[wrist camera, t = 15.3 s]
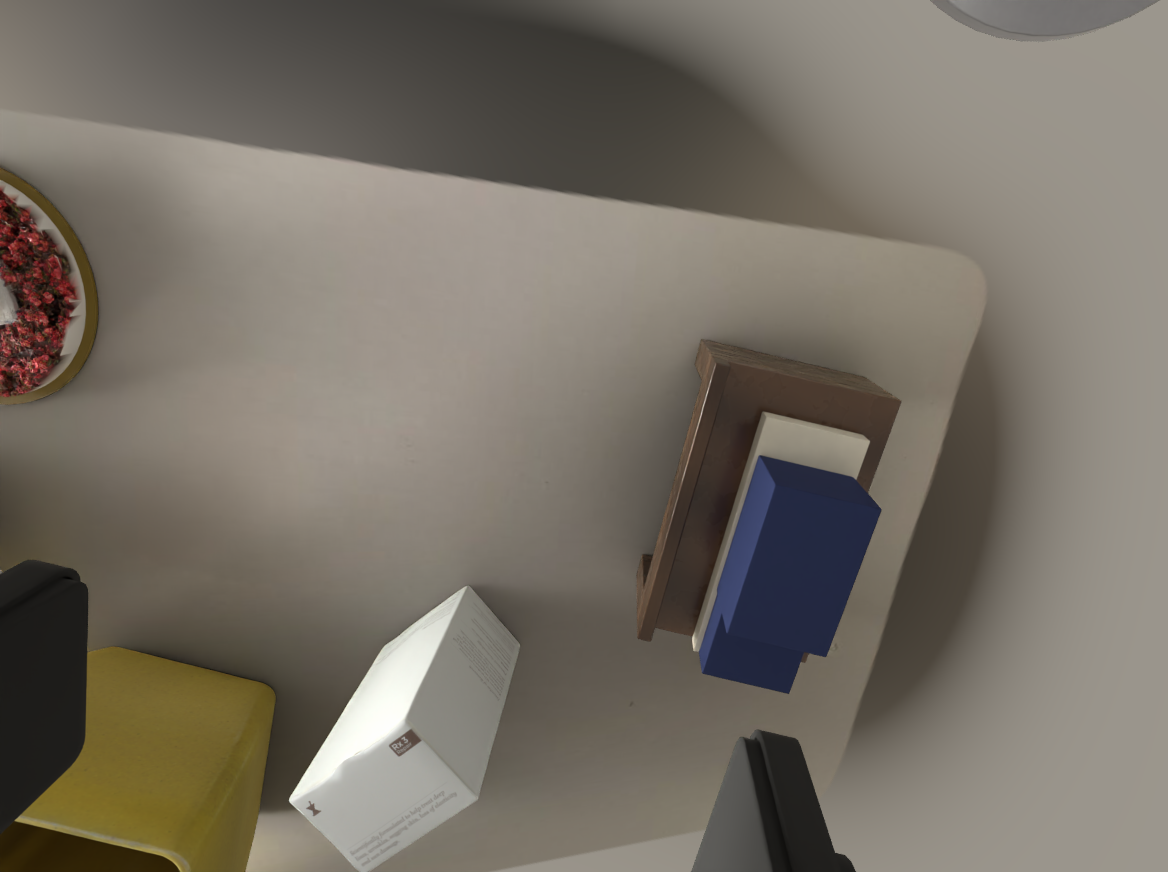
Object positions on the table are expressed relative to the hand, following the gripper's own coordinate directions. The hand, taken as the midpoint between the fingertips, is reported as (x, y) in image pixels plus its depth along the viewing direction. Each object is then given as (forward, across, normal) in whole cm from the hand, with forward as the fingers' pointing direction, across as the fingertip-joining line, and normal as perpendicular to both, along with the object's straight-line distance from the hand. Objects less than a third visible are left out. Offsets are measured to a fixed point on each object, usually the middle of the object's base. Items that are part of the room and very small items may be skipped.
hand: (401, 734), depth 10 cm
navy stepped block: (+28, -13, +7) cm, 32 cm away
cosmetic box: (+34, +4, +22) cm, 41 cm away
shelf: (+34, -12, +6) cm, 37 cm away
